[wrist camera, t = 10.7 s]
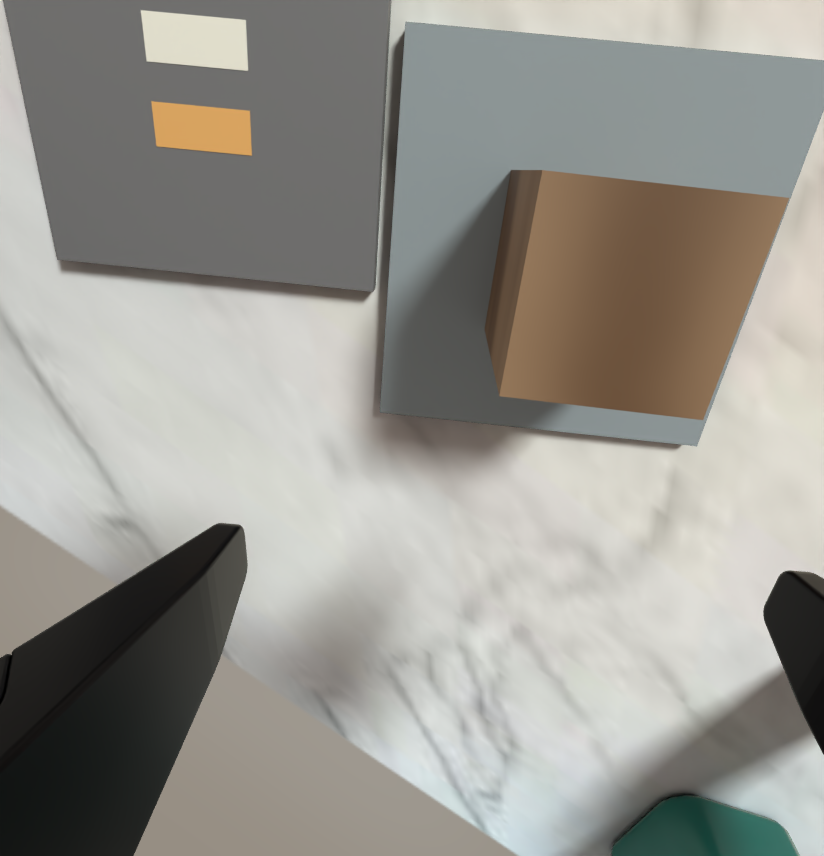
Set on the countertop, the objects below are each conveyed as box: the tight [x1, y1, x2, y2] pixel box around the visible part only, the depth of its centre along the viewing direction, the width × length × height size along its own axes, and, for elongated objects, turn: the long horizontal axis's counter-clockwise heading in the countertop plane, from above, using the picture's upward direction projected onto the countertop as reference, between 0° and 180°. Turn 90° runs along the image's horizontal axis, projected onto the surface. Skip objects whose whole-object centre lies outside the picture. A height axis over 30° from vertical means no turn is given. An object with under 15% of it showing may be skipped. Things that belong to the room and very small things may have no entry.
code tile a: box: [3, 0, 391, 292], centre depth 16 cm, size 11×11×1 cm
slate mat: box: [380, 22, 824, 446], centre depth 17 cm, size 12×12×1 cm
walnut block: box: [484, 170, 789, 420], centre depth 14 cm, size 5×5×6 cm
